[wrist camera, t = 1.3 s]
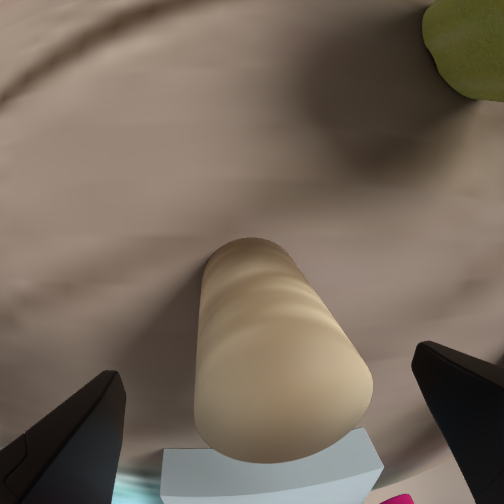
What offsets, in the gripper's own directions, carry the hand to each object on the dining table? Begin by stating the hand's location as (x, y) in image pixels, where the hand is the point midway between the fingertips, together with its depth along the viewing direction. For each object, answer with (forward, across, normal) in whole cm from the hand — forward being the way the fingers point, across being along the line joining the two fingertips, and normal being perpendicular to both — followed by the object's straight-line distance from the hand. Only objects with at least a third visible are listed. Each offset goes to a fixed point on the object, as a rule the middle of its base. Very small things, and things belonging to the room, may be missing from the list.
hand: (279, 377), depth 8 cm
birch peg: (+6, 0, 0) cm, 7 cm away
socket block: (+6, -1, +19) cm, 20 cm away
